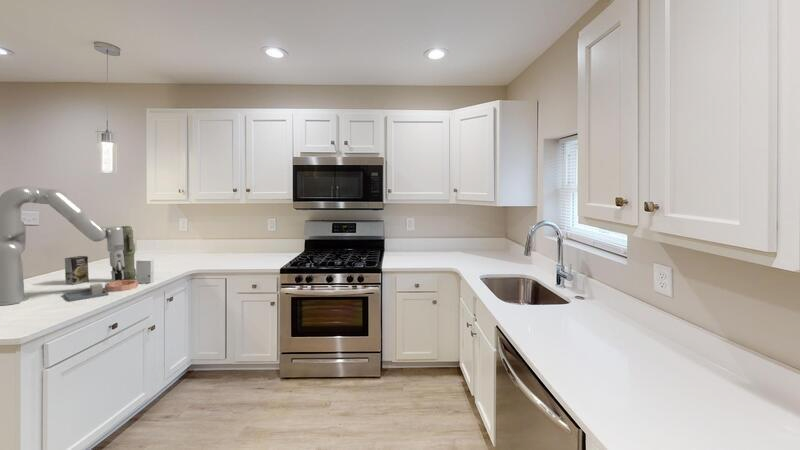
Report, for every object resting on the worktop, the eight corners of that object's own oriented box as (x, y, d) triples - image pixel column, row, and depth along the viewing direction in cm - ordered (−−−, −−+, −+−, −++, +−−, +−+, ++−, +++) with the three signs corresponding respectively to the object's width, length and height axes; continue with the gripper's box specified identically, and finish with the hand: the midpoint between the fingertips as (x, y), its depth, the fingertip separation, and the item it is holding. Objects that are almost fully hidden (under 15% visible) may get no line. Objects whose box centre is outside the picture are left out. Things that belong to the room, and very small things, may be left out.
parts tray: (69, 302, 187) (69, 298, 186) (63, 296, 197) (63, 292, 196) (108, 296, 199) (108, 292, 199) (100, 290, 209) (100, 287, 209)
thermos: (126, 283, 226) (124, 227, 223) (114, 280, 230) (111, 226, 227) (140, 280, 234) (139, 226, 231) (128, 278, 238) (126, 225, 235)
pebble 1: (92, 295, 198) (92, 286, 198) (90, 293, 201) (89, 284, 201) (102, 293, 202) (102, 284, 201) (100, 292, 204) (100, 283, 204)
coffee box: (73, 284, 219) (72, 258, 217) (65, 284, 220) (63, 257, 218) (89, 281, 227) (88, 256, 226) (81, 280, 229) (79, 255, 227)
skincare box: (135, 284, 225) (134, 260, 223) (139, 281, 231) (138, 258, 229) (151, 283, 227) (150, 260, 226) (154, 281, 233) (154, 258, 232)
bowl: (109, 293, 203) (109, 287, 203) (102, 288, 212) (102, 283, 212) (141, 288, 215) (140, 283, 215) (132, 284, 224) (132, 278, 224)
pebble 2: (114, 280, 207) (113, 272, 207) (112, 279, 210) (111, 270, 209) (123, 279, 211) (123, 270, 210) (121, 277, 214) (120, 269, 213)
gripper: (128, 249, 206) (129, 280, 208) (119, 245, 217) (120, 275, 218) (111, 250, 200) (113, 282, 202) (103, 246, 211) (105, 277, 213)
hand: (117, 278), depth 210 cm, fingers closed on pebble 2, 4 cm apart
